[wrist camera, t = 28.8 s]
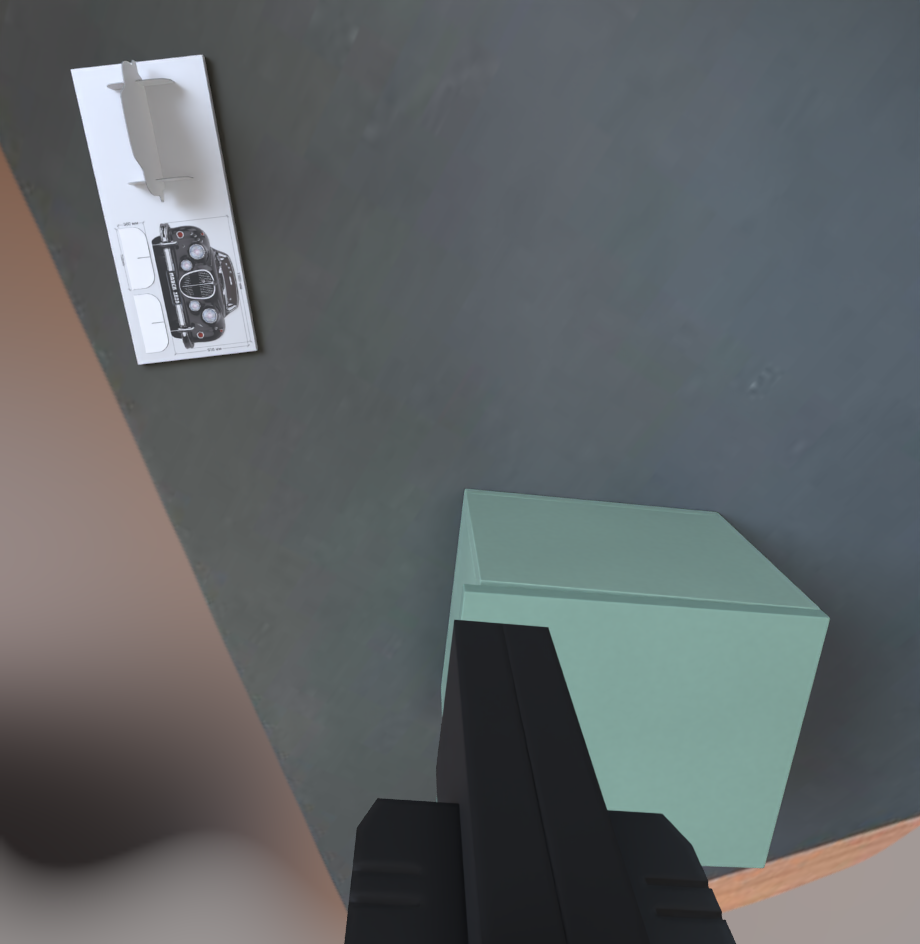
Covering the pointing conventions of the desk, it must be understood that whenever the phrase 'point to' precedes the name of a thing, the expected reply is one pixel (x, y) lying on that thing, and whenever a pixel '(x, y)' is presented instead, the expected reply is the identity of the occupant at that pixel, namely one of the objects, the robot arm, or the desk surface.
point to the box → (609, 553)
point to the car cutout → (167, 207)
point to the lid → (680, 703)
